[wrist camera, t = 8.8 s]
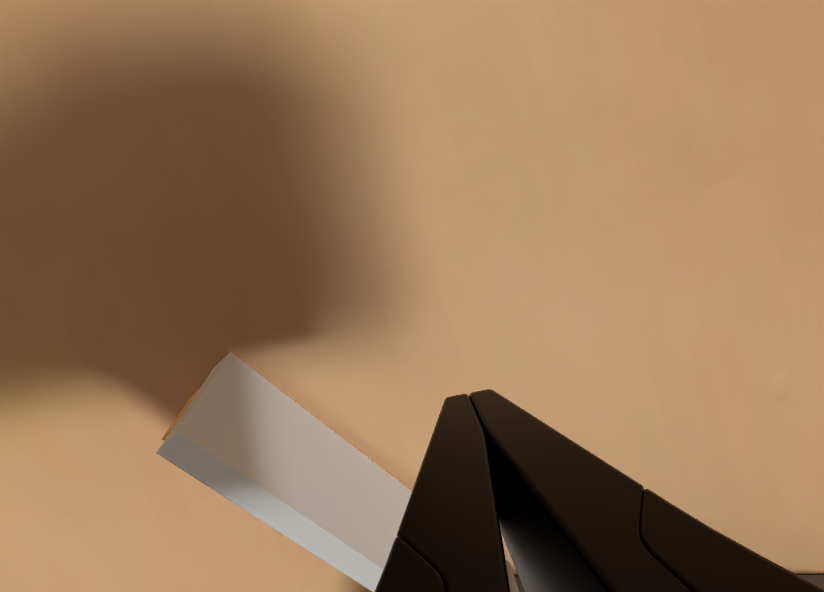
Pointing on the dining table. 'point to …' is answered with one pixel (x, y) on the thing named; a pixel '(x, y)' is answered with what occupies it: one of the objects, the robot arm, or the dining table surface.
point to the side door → (289, 471)
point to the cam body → (818, 580)
